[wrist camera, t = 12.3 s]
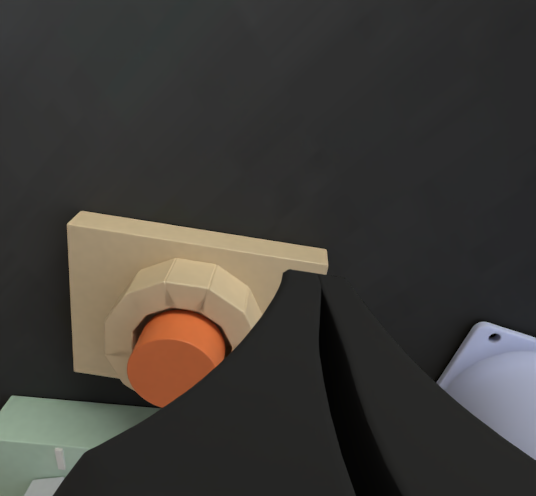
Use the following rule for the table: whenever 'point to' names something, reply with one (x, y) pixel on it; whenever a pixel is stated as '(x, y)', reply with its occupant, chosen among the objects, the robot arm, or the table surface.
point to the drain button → (174, 355)
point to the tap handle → (44, 486)
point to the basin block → (55, 436)
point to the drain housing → (167, 282)
